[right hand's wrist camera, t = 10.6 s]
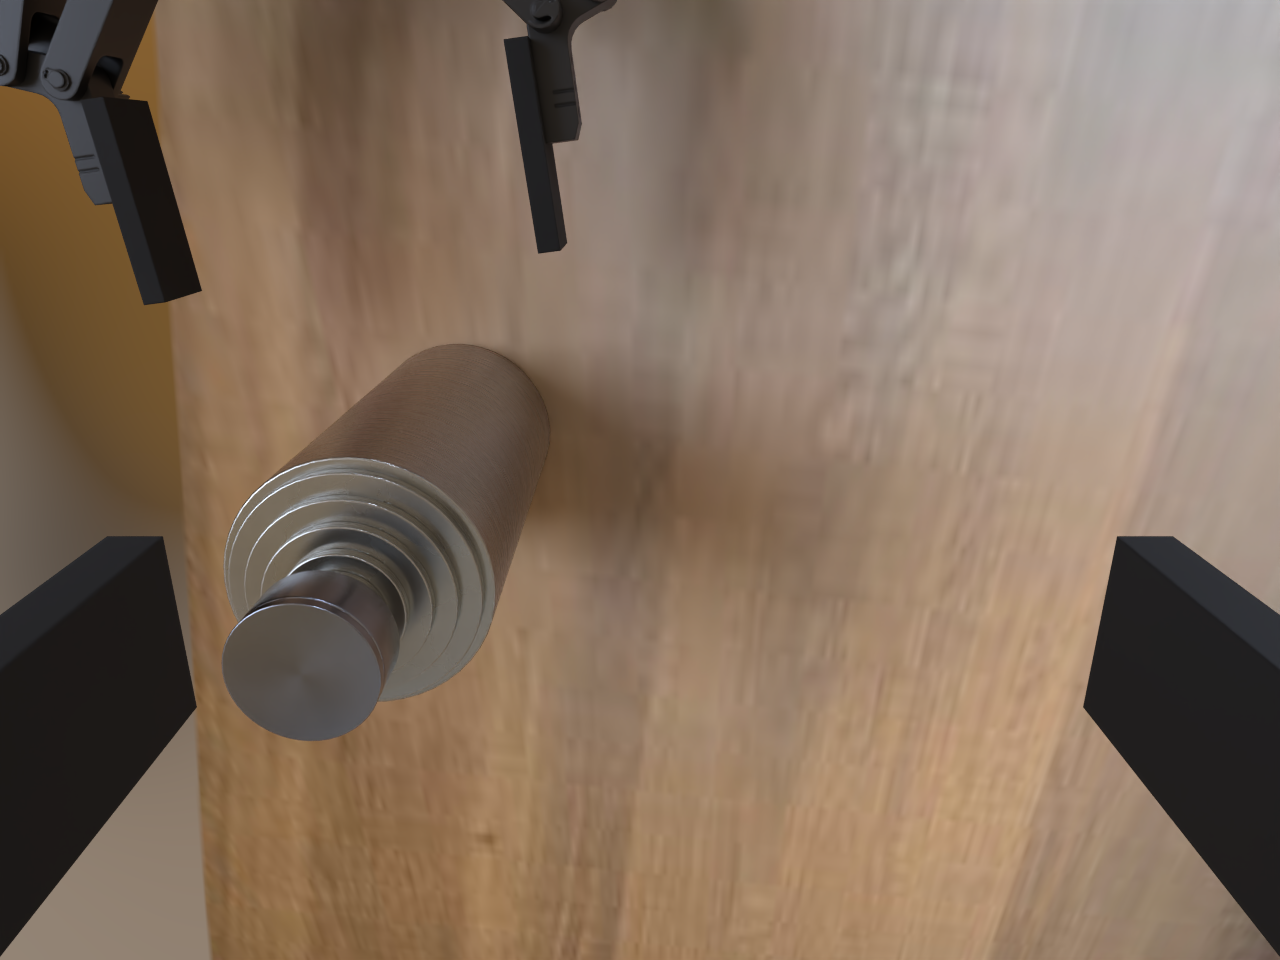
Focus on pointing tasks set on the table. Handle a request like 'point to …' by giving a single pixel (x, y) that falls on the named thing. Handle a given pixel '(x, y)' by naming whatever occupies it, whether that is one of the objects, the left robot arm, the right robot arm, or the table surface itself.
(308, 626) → the cap
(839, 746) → the table surface
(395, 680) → the bottle
